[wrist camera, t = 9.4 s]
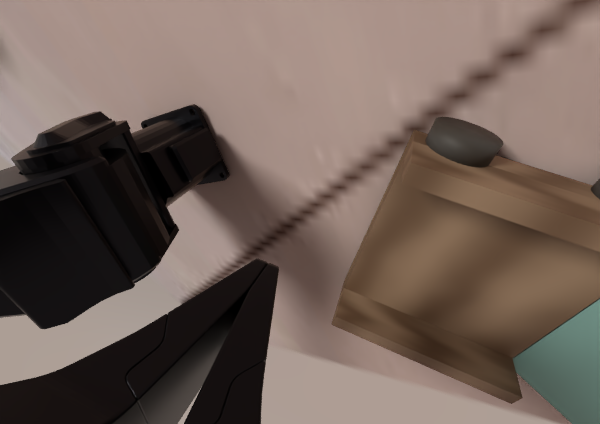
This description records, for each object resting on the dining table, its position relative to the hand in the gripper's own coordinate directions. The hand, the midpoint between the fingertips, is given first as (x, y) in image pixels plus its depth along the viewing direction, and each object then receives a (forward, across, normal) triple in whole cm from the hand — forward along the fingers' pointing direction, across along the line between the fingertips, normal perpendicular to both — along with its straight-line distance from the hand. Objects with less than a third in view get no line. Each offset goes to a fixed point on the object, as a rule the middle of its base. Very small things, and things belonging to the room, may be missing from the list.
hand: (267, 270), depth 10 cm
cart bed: (+13, -11, +5) cm, 18 cm away
